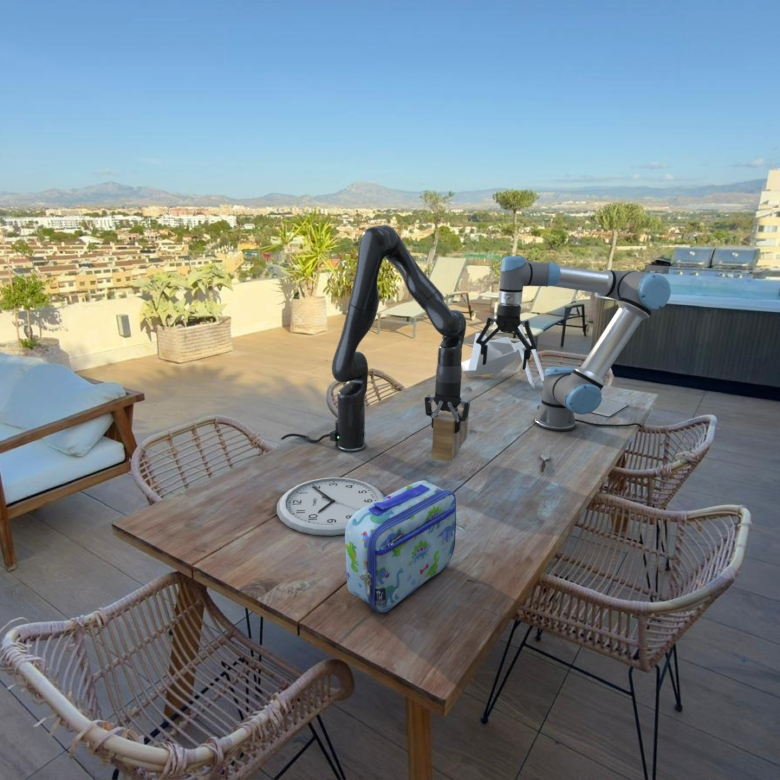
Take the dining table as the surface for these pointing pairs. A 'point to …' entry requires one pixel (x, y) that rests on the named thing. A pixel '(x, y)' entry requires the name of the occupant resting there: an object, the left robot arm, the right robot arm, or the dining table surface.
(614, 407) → the invitation card
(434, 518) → the lunch box
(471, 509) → the dining table surface
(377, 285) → the left robot arm
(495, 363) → the white plastic object
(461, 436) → the box
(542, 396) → the right robot arm
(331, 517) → the wall clock
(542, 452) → the fork
